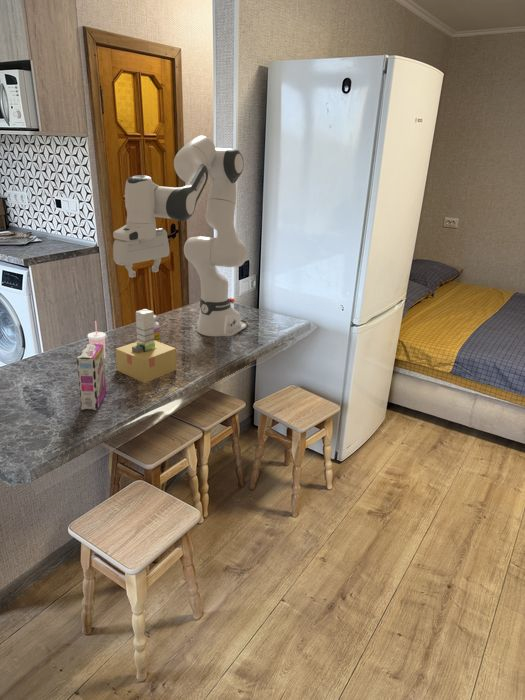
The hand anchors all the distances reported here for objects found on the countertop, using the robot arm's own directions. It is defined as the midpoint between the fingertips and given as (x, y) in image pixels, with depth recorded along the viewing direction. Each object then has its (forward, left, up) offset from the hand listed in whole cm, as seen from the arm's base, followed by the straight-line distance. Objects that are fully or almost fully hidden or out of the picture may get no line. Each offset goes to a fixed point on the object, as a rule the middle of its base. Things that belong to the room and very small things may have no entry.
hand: (144, 274), depth 156 cm
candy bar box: (+27, +8, -33) cm, 43 cm away
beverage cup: (+7, -18, -33) cm, 38 cm away
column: (+2, +2, -28) cm, 28 cm away
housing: (+2, +2, -33) cm, 33 cm away
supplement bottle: (-12, -12, -33) cm, 37 cm away
